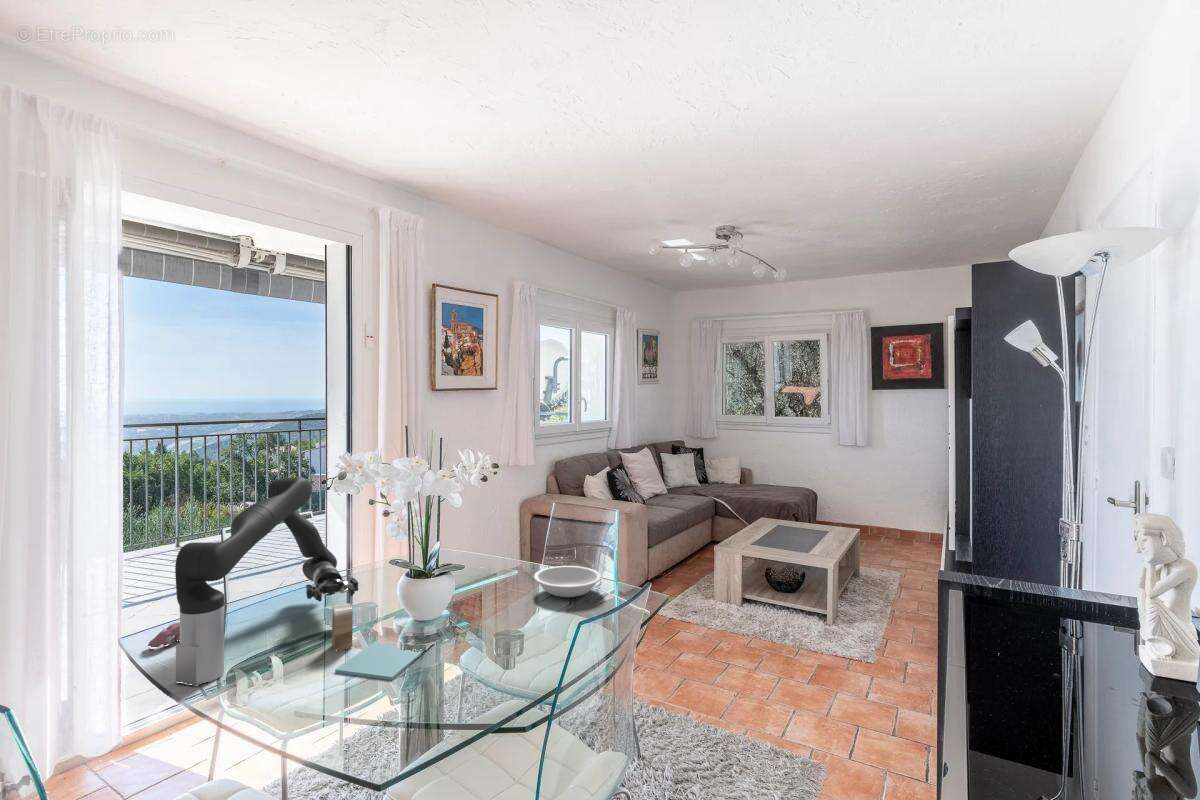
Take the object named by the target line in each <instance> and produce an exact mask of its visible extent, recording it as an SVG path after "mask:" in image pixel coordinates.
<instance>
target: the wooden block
mask: <svg viewBox="0 0 1200 800" xmlns="http://www.w3.org/2000/svg"><path fill="white" fill-rule="evenodd" d="M331 608H332V609H331V610H332V612H331V613H332V615H331V616H332V617H331V618H332V619H331V622H332V623H331V629H332V630H331V635H332V636H331V646H332V648H333V650H335V651H334V652H337V651H336V650H339V651H343V650H342V649H344V650H347V649H346V648H349V649H352V648H353V624H354V623H353V622H354V621H353V619H354V618H353V615H354V614H353V611H354V610H353V609H354V608H353V606H352V605H351V604H350V603H345V604H339V605H333V606H332V607H331ZM351 647H352V648H351Z"/></svg>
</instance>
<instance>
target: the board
mask: <svg viewBox="0 0 1200 800" xmlns="http://www.w3.org/2000/svg"><path fill="white" fill-rule="evenodd" d="M422 652H423V651H422ZM422 652H420V651H419V652H418V653H417V652H414V651H411V650H405V651H403V650H400V648H398V647H395V646H394V645H393V644H388V643H383V644H381V643H380V642H378V641H377V640H375V641H374V642H371V644H370V645H369V646H366V648H364V649H363V650H362V651H360V652H358V653H356V654H355V655H354V656H352V657H351V658H350V659H348V660H346V661H345V662H344V663H342V664H341V665H339V666H338V667H337V668H335V670H334V673H335V674H343V675H351V676H356V677H357V676H359V677H365V678H366V677H367V678H374V679H380V680H388V681H393V680H394V679H395V678H397V677H398V676H399V675H401V674H402V672H403V671H405V670H406V669H407V668H409V667H410V666H411V665H412V664H413V663H414V662H415V661H416V660H415V659H416V658H417V657H418V656H419V655H420V654H421V653H422ZM414 660H415V661H414ZM413 661H414V662H413ZM412 662H413V663H412ZM411 663H412V664H411ZM410 664H411V665H410ZM409 665H410V666H409Z"/></svg>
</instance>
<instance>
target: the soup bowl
mask: <svg viewBox="0 0 1200 800" xmlns="http://www.w3.org/2000/svg"><path fill="white" fill-rule="evenodd" d="M533 579H534V581H535V582H537V583H538V584H539V585H540V587H541V588H542V589H543V591H545V592H546V593H547V594H549V595H553V596H555V597H558V598H574V597H575V598H576V597H580V596H583V595H585V594H587V593H589V592H591V590H592V589H593V588H594V587H595V586H596V584H597V583H599V582H600V581H601V580H602V574H601V572H599V571H598V570H595V569H593V568H589V567H585V566H581V565H559V566H558V565H557V566H550V567H546V568H545V567H544V568H542V569H540V570H538V571H536V572H535V573H534V575H533Z"/></svg>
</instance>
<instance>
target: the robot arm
mask: <svg viewBox="0 0 1200 800" xmlns="http://www.w3.org/2000/svg"><path fill="white" fill-rule="evenodd" d="M268 486H269V487H268V489H267V496H268V497H267V498H266V499H262V500H259V501H258V502H255V503H253V504H251V505H249V506H247V507H246V508H245V509H244V510H242V511H241V512H239V514H237V515H236V516H235V517H234V518H233V520H232V522H231V525H230V536H229V537H228V538H226V539H224V540H223V541H219V542H199V541H197V542H196V541H195V542H188V543H187V544H184V545H183V546H182V547H181V548H180V550H179V551H178V553H177V556H176V560H175V568H174V569H175V570H174V571H175V572H174V573H175V576H174V577H175V590H176V600H177V603H178V605H179V622H180V641H179V643H177V644H176V645H175V682H176V681H177V682H183V683H187V684H192V685H198V684H200V683H204V684H206V682H208V683H210V682H213V681H215V680H217V679H219V678H221V677H222V676H223V675H224V673H225V594H224V593H223V592H222V591H221V590H219V589H216V588H214V587H212V586H211V585H209V584H208V583H207V582H215V581H220V580H222V579H224V578H225V577H226V576H227V575H228V574H229V573H230V572H231V571H232V570H233V569H234V568H235V566H236V565H238V563H239V562H240V561H241V560H242V558H243V557H244V556H245V555H246V554H247V553H248V552H249V551H250V550H251V549H252V548H254V546H255V545H256V544H258V543H259V542H260V541H262V539H264V538H265V537H266V536H268V534H269V533H271V532H272V531H273V530H274V529H275V528H276V527H277V526H278V525H279V524H280V523H282V522H283V523H284V524H285V526H286V527H287V528H288V529H289V531H290V532H291V535H292V536H293V537H294V540H295V542H296V544H297V546H298V549H299V550H300V552H301V555H302V556H303V557H304V558H308V559H307V560H305V561H304V562H303V565H302V567H301V568H302V573H303V575H304V576H305V577H306V579H308V580H309V581H311V582H313V584H314V586H313V585H311V584H306V585H305V587H306V588H305V594H306V598H307V599H308V600H311V599H312V598H314V599H315V600H316V601H318V602H322V601H323V600H322V598H323V597H325V596H332V595H335V594H337V593H339V594H346V593H348V595H349V597H353V595H355V592H358V591H359V581H358V580H357V579H356V577H351V578H350V579H349V580H345V579H343V577H342V575H341V574H340V572H339V571H338V569H337V566H338V559H337V558H336V556H335V555H334V554H333V553H332V552H331V550H329V549H328V548H327V547H326V545H325V544H324V542H323V539H322V537H321V534H320V532H319V530H318V529H317V527H316V526H315V525H314V523H312V522H311V521H310V520H308V519H307V518H305V517H304V516H303V515H302V514H301V513H299V512H298V511H297V510H299V509H301V508H302V507H304V506H305V505H306V504H307V503H308V502H309V500H310V498H311V496H312V494H313V487H312V484H311V482H310V480H309V479H307V478H305V477H300V476H296V477H295V476H294V477H285V478H284V477H283V478H282V477H281V478H277V479H273V480H272V481H271V482H270V484H269V485H268Z"/></svg>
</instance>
